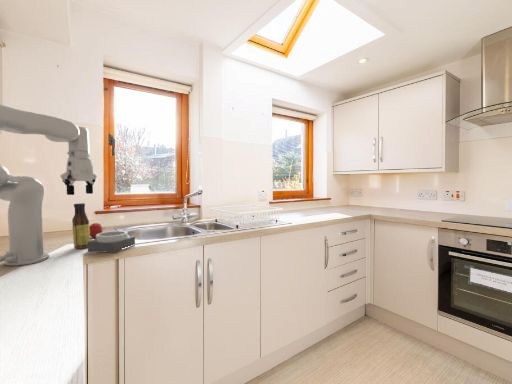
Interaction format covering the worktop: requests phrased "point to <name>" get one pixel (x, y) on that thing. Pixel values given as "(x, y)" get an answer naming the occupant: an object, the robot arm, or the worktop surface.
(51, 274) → the worktop surface
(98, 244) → the mount
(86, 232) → the sauce bottle
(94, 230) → the tomato
